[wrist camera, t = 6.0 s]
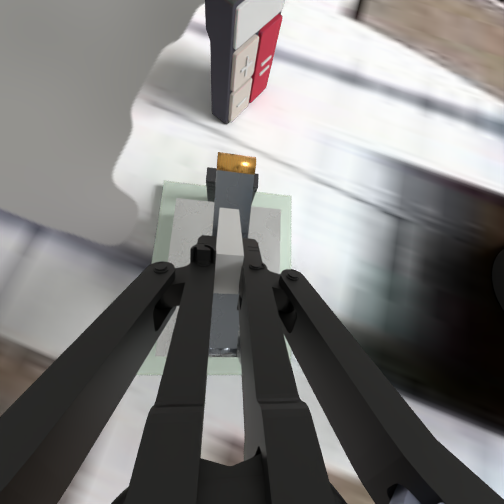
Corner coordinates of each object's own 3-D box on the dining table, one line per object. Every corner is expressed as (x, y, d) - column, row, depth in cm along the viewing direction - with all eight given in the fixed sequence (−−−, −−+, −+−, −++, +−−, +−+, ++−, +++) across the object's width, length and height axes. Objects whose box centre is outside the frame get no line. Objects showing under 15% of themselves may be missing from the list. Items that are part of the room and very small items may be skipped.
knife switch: (267, 348, 27) (286, 364, 20) (166, 346, 26) (146, 363, 18) (271, 204, 32) (287, 175, 25) (185, 194, 30) (175, 160, 23)
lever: (235, 349, 22) (236, 359, 20) (204, 348, 22) (202, 359, 20) (254, 159, 19) (256, 155, 17) (218, 154, 18) (218, 149, 17)
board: (287, 371, 29) (290, 374, 27) (138, 371, 26) (134, 375, 24) (288, 200, 34) (291, 195, 33) (166, 186, 32) (164, 180, 30)
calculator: (229, 128, 35) (239, 8, 21) (208, 112, 35) (203, -19, 21) (268, 89, 38) (299, -40, 24) (248, 74, 38) (268, -63, 24)
